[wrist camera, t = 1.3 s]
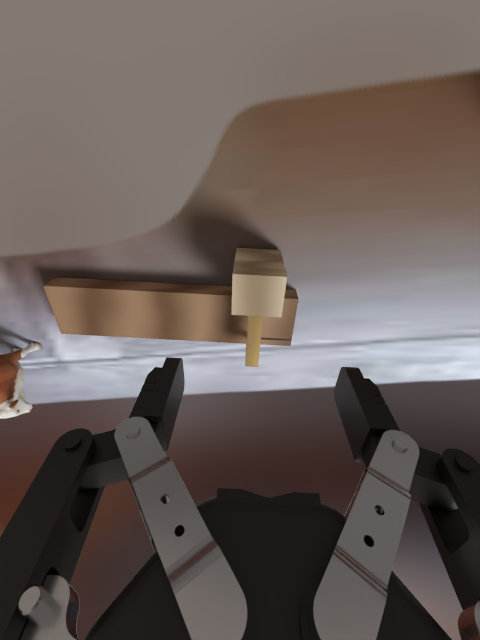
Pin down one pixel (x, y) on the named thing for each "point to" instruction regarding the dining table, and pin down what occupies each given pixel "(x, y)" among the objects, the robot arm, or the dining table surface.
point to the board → (160, 311)
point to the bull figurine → (13, 382)
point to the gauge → (257, 292)
